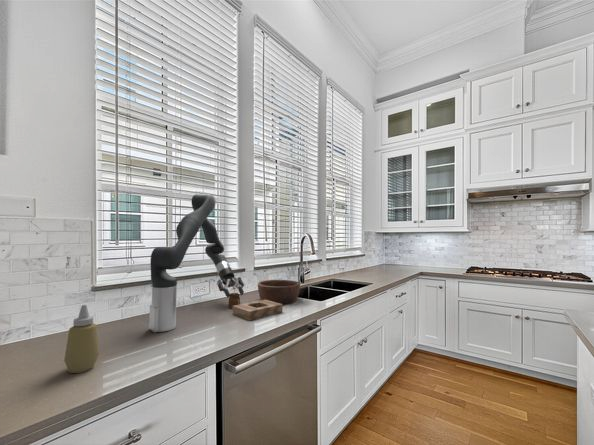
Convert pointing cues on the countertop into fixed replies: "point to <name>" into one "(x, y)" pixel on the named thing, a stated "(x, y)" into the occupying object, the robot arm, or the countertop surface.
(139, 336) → the countertop surface
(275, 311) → the wooden block with hole
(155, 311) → the robot arm
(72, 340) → the squeeze bottle
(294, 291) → the wooden bowl
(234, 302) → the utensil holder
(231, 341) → the countertop surface
